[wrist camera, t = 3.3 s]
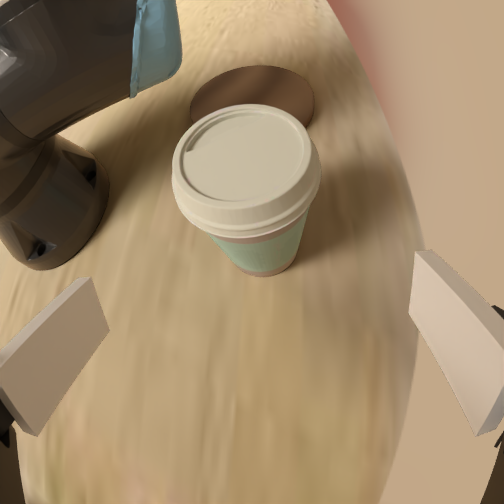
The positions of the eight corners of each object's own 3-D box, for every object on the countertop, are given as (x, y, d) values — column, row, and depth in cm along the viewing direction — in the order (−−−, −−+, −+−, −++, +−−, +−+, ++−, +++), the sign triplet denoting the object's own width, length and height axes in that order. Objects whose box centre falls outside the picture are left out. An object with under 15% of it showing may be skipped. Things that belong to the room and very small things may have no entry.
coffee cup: (314, 201, 28) (318, 96, 17) (314, 295, 25) (326, 220, 14) (220, 201, 29) (180, 104, 18) (207, 291, 26) (145, 220, 15)
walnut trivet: (170, 134, 34) (166, 125, 33) (231, 67, 38) (229, 59, 37) (282, 167, 30) (281, 157, 28) (330, 88, 34) (330, 79, 33)
